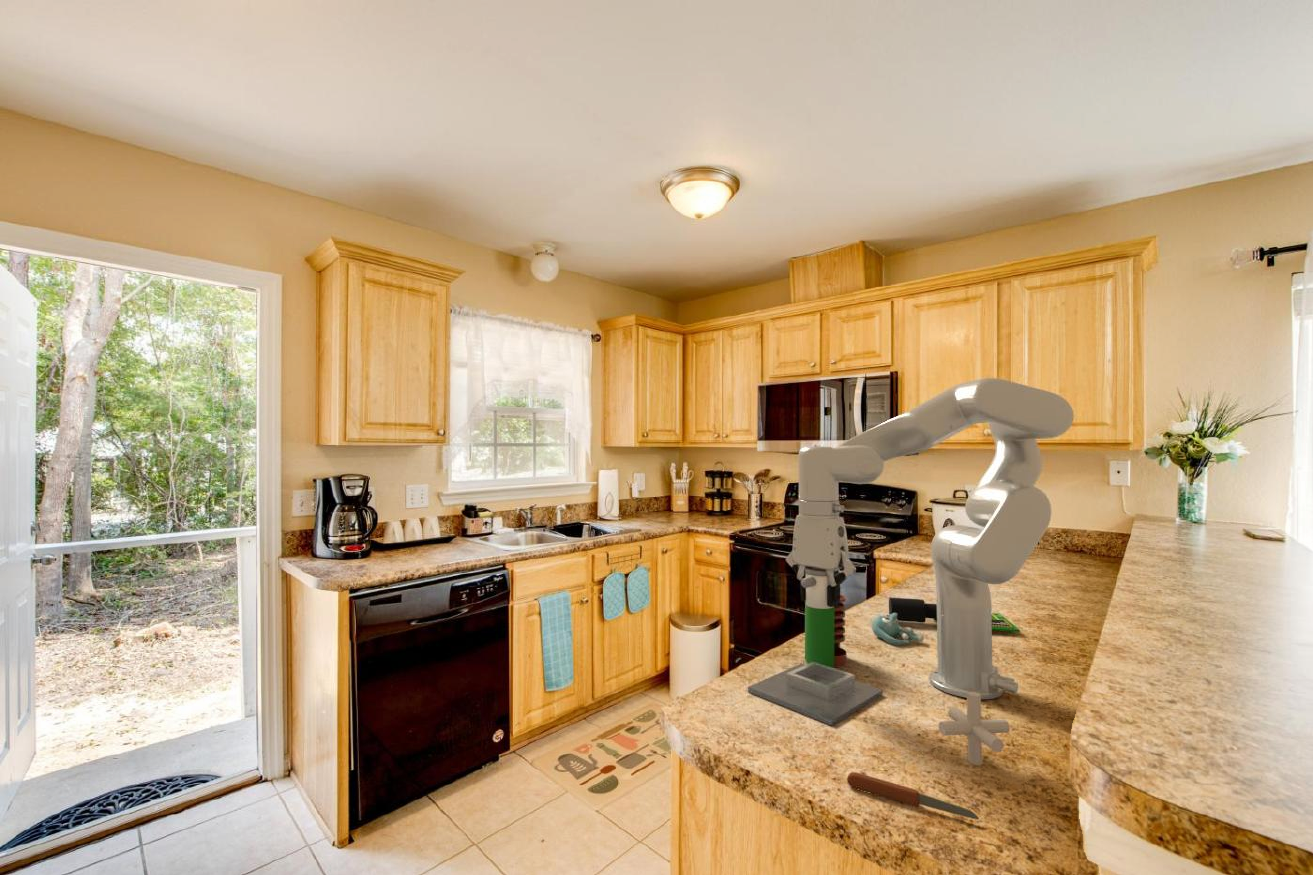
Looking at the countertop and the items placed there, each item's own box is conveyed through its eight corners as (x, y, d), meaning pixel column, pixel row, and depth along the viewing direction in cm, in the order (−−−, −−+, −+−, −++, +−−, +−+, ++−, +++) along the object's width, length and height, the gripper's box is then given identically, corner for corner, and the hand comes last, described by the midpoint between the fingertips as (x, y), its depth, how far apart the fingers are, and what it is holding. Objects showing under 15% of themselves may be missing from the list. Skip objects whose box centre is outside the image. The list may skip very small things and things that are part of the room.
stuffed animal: (923, 628, 129) (870, 611, 135) (917, 658, 129) (865, 639, 136) (929, 617, 138) (879, 601, 144) (923, 645, 138) (874, 628, 145)
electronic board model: (999, 594, 154) (1019, 609, 139) (999, 619, 154) (1019, 636, 139) (884, 588, 162) (892, 601, 147) (885, 611, 162) (892, 627, 147)
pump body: (839, 605, 107) (839, 569, 108) (817, 612, 102) (817, 574, 102) (815, 600, 111) (814, 565, 112) (793, 607, 106) (792, 570, 107)
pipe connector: (923, 745, 87) (922, 681, 87) (983, 743, 88) (982, 679, 88) (964, 783, 77) (963, 710, 77) (1031, 779, 78) (1030, 707, 78)
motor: (849, 670, 117) (848, 576, 118) (806, 667, 119) (805, 574, 120) (843, 654, 127) (842, 566, 128) (803, 651, 129) (802, 565, 130)
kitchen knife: (846, 788, 76) (846, 773, 76) (849, 783, 77) (848, 768, 77) (978, 829, 68) (978, 812, 68) (979, 823, 69) (978, 806, 69)
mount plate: (882, 695, 105) (882, 678, 105) (832, 726, 93) (832, 706, 93) (801, 668, 118) (801, 653, 119) (748, 692, 106) (747, 675, 107)
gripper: (869, 511, 104) (870, 608, 104) (792, 505, 117) (793, 591, 116) (849, 514, 99) (850, 615, 99) (771, 507, 112) (772, 597, 111)
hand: (819, 601), depth 108 cm, fingers closed on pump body, 5 cm apart
